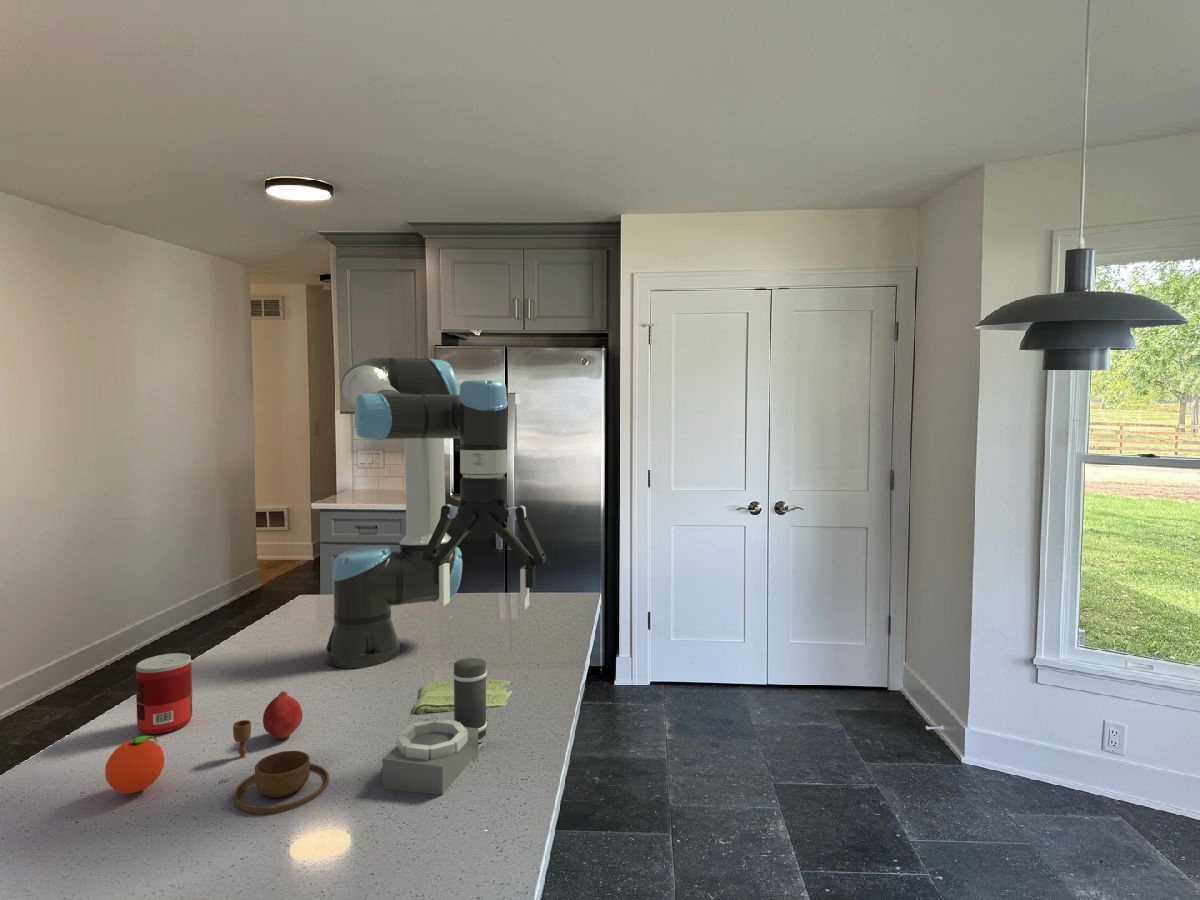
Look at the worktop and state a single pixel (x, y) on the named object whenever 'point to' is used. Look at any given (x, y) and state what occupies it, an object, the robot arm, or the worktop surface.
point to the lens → (470, 694)
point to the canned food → (164, 693)
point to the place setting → (275, 774)
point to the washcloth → (442, 696)
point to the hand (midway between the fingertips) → (484, 605)
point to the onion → (282, 716)
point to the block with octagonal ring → (429, 756)
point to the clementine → (134, 765)
